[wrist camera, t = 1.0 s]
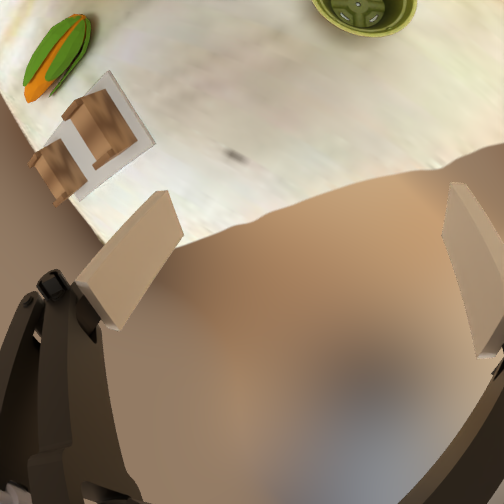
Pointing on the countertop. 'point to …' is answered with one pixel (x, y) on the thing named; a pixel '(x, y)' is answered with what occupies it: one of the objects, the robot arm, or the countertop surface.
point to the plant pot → (368, 15)
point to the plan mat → (82, 151)
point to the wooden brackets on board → (95, 137)
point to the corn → (56, 55)
